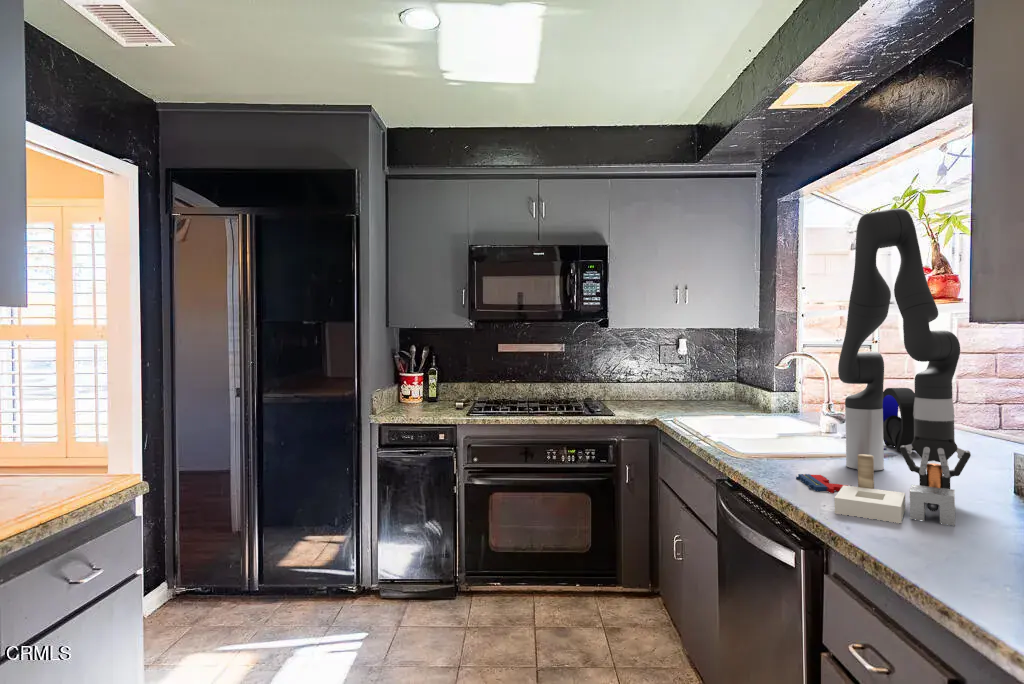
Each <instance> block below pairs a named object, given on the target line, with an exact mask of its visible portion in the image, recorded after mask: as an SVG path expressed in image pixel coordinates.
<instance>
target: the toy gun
mask: <svg viewBox="0 0 1024 684" xmlns="http://www.w3.org/2000/svg"><path fill="white" fill-rule="evenodd" d="M795 479H796V480H800V482H802V483H803V484H804V485H805V486H808V487H809V488H808V489H809V490H813V491H814V490H815V491H814V492H820V491H828V492H827V493H829V492H830V494H834V493H835V492H839V491H840V489H841V488H842V486H843V485H844V484H840V483H832V482H831V483H830V479H828V478H827V477H825V476H824V475H821V474H809V473H808V474H807V473H805V474H803V473H798V476H795ZM845 485H846V486H852V485H849V484H845ZM835 490H836V491H835Z"/></svg>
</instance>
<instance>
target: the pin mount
mask: <svg viewBox="0 0 1024 684" xmlns="http://www.w3.org/2000/svg"><path fill="white" fill-rule="evenodd" d="M955 492H956V490H955V489H951V488H950V489H944V488H936V487H927V486H920V484H911V485H910V489H909V520H910V519H916V520H923V521H924V522H925V520H926V515H925V514H926V508H927V507H926V504H927V503H932V504H939V524H940V523H942V524H941V525H943V524H948V525H947V526H950V525H953V526H952V527H955V525H956V502H955V499H956V497H955V495H956V494H955ZM924 519H925V520H924ZM916 520H915V521H916ZM923 521H922V522H923Z"/></svg>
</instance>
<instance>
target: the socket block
mask: <svg viewBox="0 0 1024 684" xmlns="http://www.w3.org/2000/svg"><path fill="white" fill-rule="evenodd" d="M842 485H843V486H842V488H841V489H840V491H837V493H836V495H835V496H834V514H836V515H841V514H842V515H841V516H847V515H849V516H848V517H854V516H857V517H856V518H860V517H863V518H862V519H867V518H869V519H868V520H873V519H877V520H876V521H880V520H883V521H882V522H886V521H889V522H888V523H893V522H894V524H899V523H901V524H902V522H903V519H902V518H904V515H905V512H906V492H901V491H894V490H893V491H892V490H885V489H878V488H874V489H869V488H861V487H858V486H853V485H851V486H850V485H848V486H846V485H847V484H842ZM904 511H905V512H904ZM895 522H896V523H895Z"/></svg>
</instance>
